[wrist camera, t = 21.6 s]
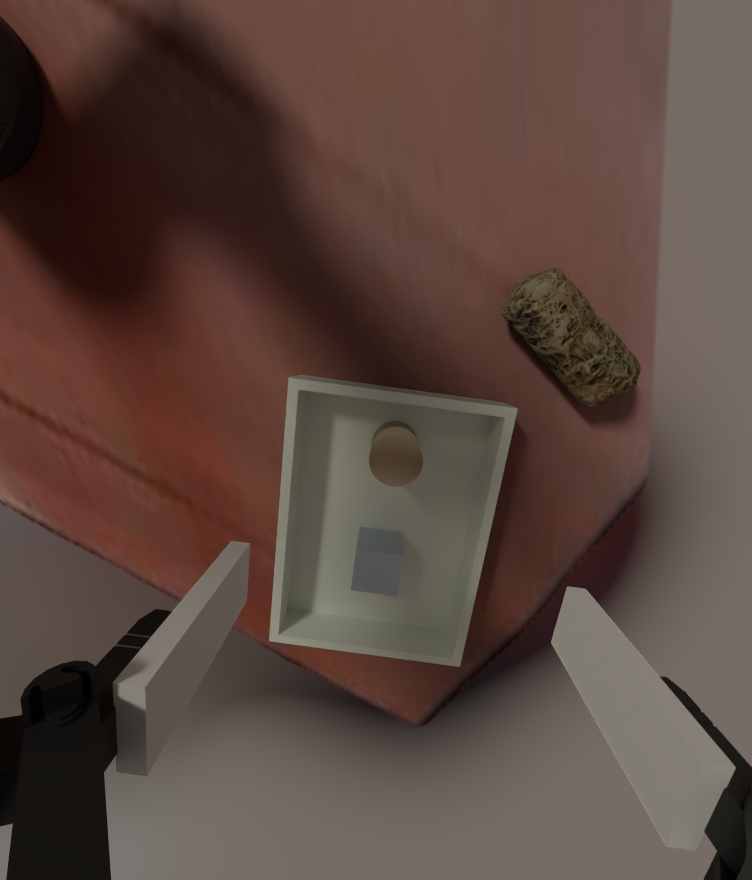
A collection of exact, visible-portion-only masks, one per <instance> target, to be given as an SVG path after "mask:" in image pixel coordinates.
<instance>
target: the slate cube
mask: <svg viewBox="0 0 752 880" xmlns="http://www.w3.org/2000/svg"><path fill="white" fill-rule="evenodd" d="M403 557H404V551H403V538H402V532H397V531H390V530H382V529H375V528H368V527H361V526H360V529H359V535H358V541H357V547H356V554H355V562H354V569H353V576H352V584H351V590H353V591H360V592H368V593H375V594H382V595H389V596H396V597H397V592H398V587H399V581H400V575H401V569H402V563H403Z"/></svg>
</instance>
